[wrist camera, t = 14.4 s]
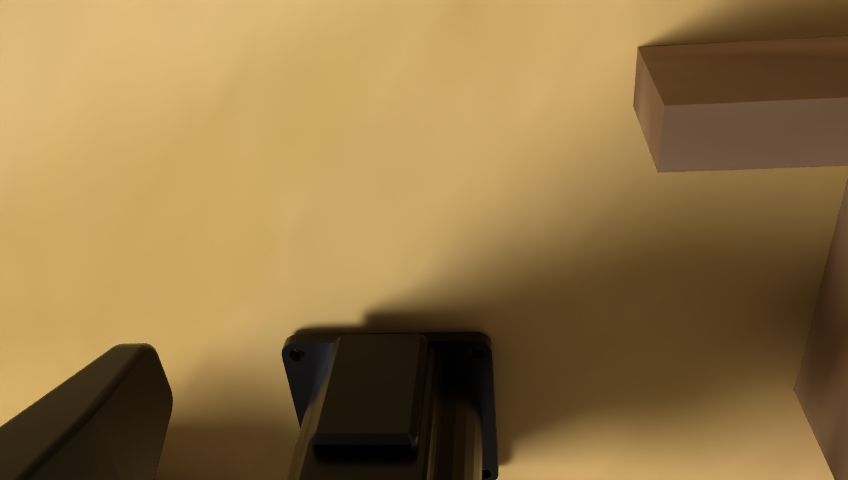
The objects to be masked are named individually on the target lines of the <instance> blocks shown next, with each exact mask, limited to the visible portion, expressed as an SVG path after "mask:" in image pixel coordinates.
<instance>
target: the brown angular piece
mask: <svg viewBox="0 0 848 480" xmlns="http://www.w3.org/2000/svg"><path fill="white" fill-rule="evenodd" d="M633 106H634V109H635V112H636V115H637V117H638V120H639V123H640V125H641V128H642V131H643V133H644V136H645V139H646V141H647V144H648V147H649V150H650V152H651V155H652V158H653V160H654V163H655V166H656V168H657V171H658V172H684V171H712V170H739V169H767V168H794V167H822V166H848V36H830V37H812V38H794V39H776V40H758V41H740V42H722V43H704V44H686V45H667V46H649V47H638V49H637V63H636V77H635V91H634V105H633ZM794 391H795V393H796V395H797V398H798V400H799V402H800V404H801V406H802V409H803V411H804V413H805V415H806V417H807V419H808V422H809V424H810V426H811V428H812V430H813V433H814V435H815V437H816V439H817V441H818V444H819V446H820V448H821V450H822V452H823V455H824V457H825V459H826V461H827V463H828V466H829V468H830V470H831V472H832V474H833V476H834V479H835V480H848V180H847V184H846V188H845V192H844V196H843V200H842V204H841V208H840V212H839V216H838V220H837V224H836V228H835V231H834V235H833V239H832V243H831V247H830V251H829V255H828V259H827V263H826V267H825V271H824V275H823V278H822V282H821V286H820V290H819V294H818V298H817V302H816V306H815V310H814V314H813V318H812V322H811V326H810V329H809V333H808V337H807V341H806V345H805V349H804V353H803V357H802V361H801V365H800V369H799V373H798V376H797V380H796V384H795V388H794Z"/></svg>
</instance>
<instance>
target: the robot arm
mask: <svg viewBox="0 0 848 480" xmlns="http://www.w3.org/2000/svg"><path fill="white" fill-rule="evenodd" d="M471 347H480V348H481V350H477V351H475V350H471V349H470V348H471ZM294 349H298V350H301V351H303V352H304V353H299V352H296V351H295V350H294ZM282 358H283V362H284V366H285V370H286V374H287V378H288V382H289V386H290V390H291V394H292V397H293V401H294V405H295V409H296V413H297V417H298V421H299V425H300V433H299V436H298V440H297V443H296V447H295V450H294V454H293V457H292V461H291V465H290V468H289V472H288V475H287V479H286V480H496V479H497V478H498V448H497V429H496V409H495V389H494V369H493V350H492V342H491V339H490V338H489V337H488V336H487V335H485V334H483V333H481V332H428V333H366V334H304V335H292V336H290V337H289V338H287V340H286V341H285V343H284V346H283V349H282ZM172 405H173V397H172V391H171V388H170V385H169V383H168V380H167V377H166V375H165V372H164V369H163V367H162V364H161V361H160V359H159V356H158V354H157V352H156V350H155V348H154V347H153V346H152V345H150V344H146V343H137V344H119V345H116V346H115V347H113V348H111V349H110V350H108V351H107V352H106V353H104V354H103V355H101V356H100V357H99V358H97V359H96V360H94V361H93V362H92V363H90V364H89V365H87V366H86V367H84V368H83V369H82V370H80V371H79V372H77V373H76V374H75V375H73V376H72V377H70V378H69V379H67V380H66V381H65V382H63V383H62V384H60V385H59V386H58V387H56V388H55V389H53V390H52V391H50V392H49V393H48V394H46V395H45V396H43V397H42V398H41V399H39V400H38V401H36V402H35V403H33V404H32V405H31V406H29V407H28V408H26V409H25V410H24V411H22V412H21V413H19V414H18V415H16V416H15V417H14V418H12V419H11V420H9V421H8V422H7V423H5V424H4V425H2V426H1V427H0V480H154V478H155V474H156V470H157V466H158V463H159V459H160V455H161V451H162V447H163V443H164V439H165V435H166V432H167V428H168V424H169V420H170V416H171V412H172ZM483 469H485V470H483Z"/></svg>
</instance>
